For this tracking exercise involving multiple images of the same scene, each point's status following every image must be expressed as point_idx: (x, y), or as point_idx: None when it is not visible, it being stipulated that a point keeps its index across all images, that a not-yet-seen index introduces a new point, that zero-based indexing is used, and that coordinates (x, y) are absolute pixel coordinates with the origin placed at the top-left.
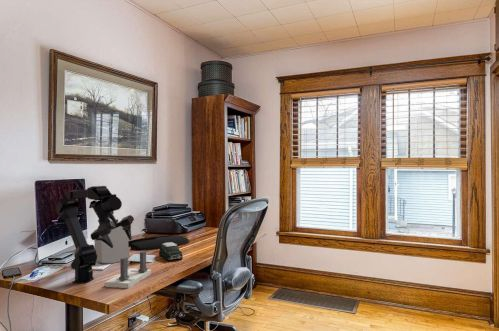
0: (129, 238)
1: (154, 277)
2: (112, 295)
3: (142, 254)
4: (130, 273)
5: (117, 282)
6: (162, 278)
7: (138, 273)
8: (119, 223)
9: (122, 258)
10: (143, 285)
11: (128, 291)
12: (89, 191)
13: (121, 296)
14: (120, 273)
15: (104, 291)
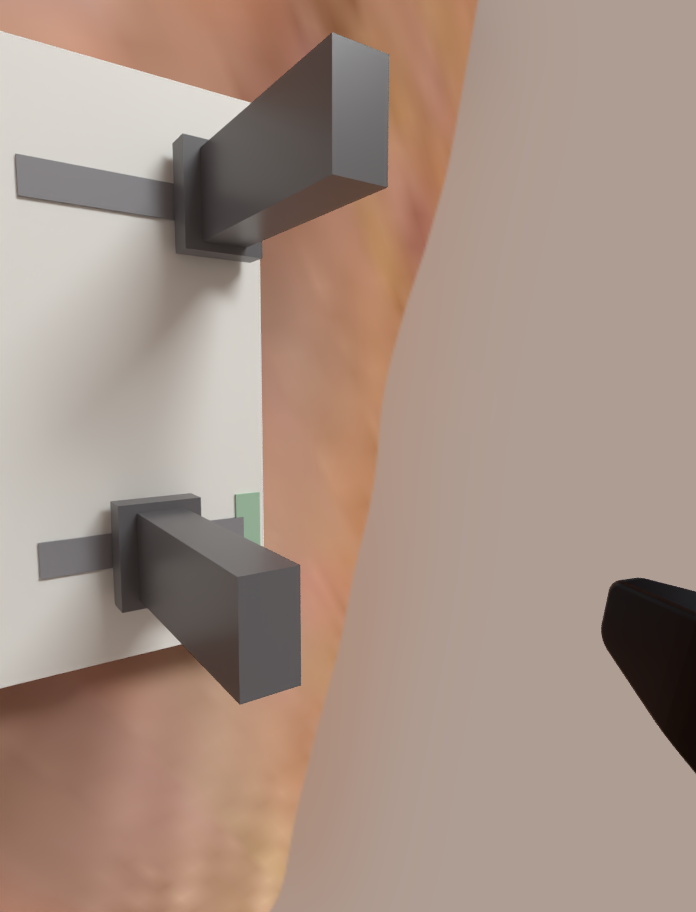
0: (663, 700)
1: (325, 263)
2: (204, 804)
3: (356, 194)
4: (83, 297)
5: (131, 647)
6: (400, 287)
7: (191, 286)
8: None
9: (257, 665)
10: (330, 500)
11: None
12: None
13: (287, 776)
14: (156, 616)
15: (53, 780)
